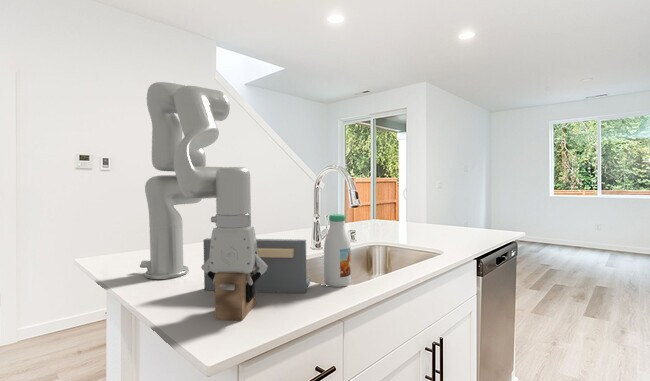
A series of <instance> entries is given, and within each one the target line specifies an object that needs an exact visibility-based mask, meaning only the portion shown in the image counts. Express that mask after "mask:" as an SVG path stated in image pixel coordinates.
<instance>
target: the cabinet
mask: <svg viewBox="0 0 650 381" xmlns="http://www.w3.org/2000/svg"><path fill="white" fill-rule="evenodd" d="M255 269H256V268H254V270H255ZM254 270H253V271H254ZM246 285H247V280H246V274H244V273H216V274H215V291H214V301H215V302H214V304H215V305H214V306H215V308H214V309H215V312H214V313H215V320H216V321H244V319H245V318H246V317H247V316H248V314H249V313H250V312H251V311H252V309H253V308H254V307H255V306H256V304H257V297H255V296H254V298H253V299H252V300H251V301H250V302H249V303H247V302H246Z"/></svg>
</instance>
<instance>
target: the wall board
mask: <svg viewBox="0 0 650 381" xmlns="http://www.w3.org/2000/svg"><path fill="white" fill-rule="evenodd" d="M256 241H257V250H258V256H259V257H260V258H261V259H262V260H263V261H264V262H265V263H266V264H267V265H268V269H267V270H266V271H265V272H264V273H263V274H262V275H261V276H260V277H259V278H258V279H257V280H256V281H255V293H281V294H282V293H283V294H284V293H286V294H289V293H290V294H291V293H292V294H306V293H307V290H308V288H309V286H310V283H311V279H312V278H311V277H307V239H286V238H285V239H284V238H283V239H282V238H277V239H276V238H274V239H273V238H256ZM210 243H211V238H210V237H209V238H208V237H206V238H205V239H203V264H204V263H205V262H206V261H207V260H208V259H209V255H210ZM259 269H260V268H259V266H257V267H256V269H255V270H254V273H255V274H256V273H257V272H258V271H259ZM203 272H204V271H203ZM203 279H204V282H203V283H204V284H203V285H204V291H210V290H211V291H212V292H213V291H214V292H215V284H214V283H213V280H212V279H211V278H210V277H209V276H208V275H207V273H205V272H204V273H203Z"/></svg>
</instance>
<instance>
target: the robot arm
mask: <svg viewBox="0 0 650 381" xmlns="http://www.w3.org/2000/svg"><path fill="white" fill-rule="evenodd" d="M146 106H147V110H148V113H149V116H150V121H151V127H152V128H151V129H152V131H151V164H152V167H153V169H155V170H157V171H160V172H174V173H175V175H174V174H172V175H171V174H168V175H165V174H164V175H155V176H152V177H150V178H149V179H148V180H147V181H146V182H145V185H144V193H145V198H146V202H147V208H148V221H149V253H150V255H149V256H150V259H149V260H141V262H140V265H139V268H141V269H143V268H146V271H145V273H144V275H145V278H147V279H149V280H167V279H173V278H179V277H182V276H184V275H186V274H188V273H189V266H186V265H184V242H183V241H184V240H183V239H184V238H183V234H184V233H183V217H182V216H181V214H180V212H179V211H178V210H177V209H176V208H175V207H174V206H178V205H193V204H198V203H200V202H201V201H202V200H203V199H216V200H215V204H216V207H215V211H216V214H215V215H214V216H211V217H210V222H211V223H215V226H216V227H213V228H212V230H211V231H212V232H211V235H210V236H211V243H210V255H209V259H208V260H207V261H206V262H205V263H204V262H203V264H202V265H201V267H200V268H201V270H202V271H203V272H205V273H207V275H208V276H209V277H210V278H211V279H212V280H213V283H214V284H215V274H216V273H244V274H246V280H247V285H246V302H247V303H249V302H250V301H251V300H252V299H253V298H254V297H255V296H256V292H255V281H256V280H257V279H258V278H259V277H260V276H261V275H262V274H263V273H264V272H265V271H266V270H267V269H268V265H267V264H266V263H265V262H264V261H263V260H262V259H261V258H260V257H259V256H258V250H257V241H256V239H257V237H256V233H255V231H256V230H255V228H254V226H252V211H251V210H252V206H251V205H252V204H251V200H252V199H251V172H250V170H249V169H248V168H246V167H242V166H207V164H206V161H207V158H206V153H205V150H204V148H207V147H210V146H211V145H213V144H214V143H215V142H216V141H217V140H218V138H219V135H220V132H219V128H218V125H217V122H222V121H224V120H226V119H227V118H228V117H229V114H230V112H231V111H230V109H231V108H230V106H231V105H230V101H229V99H228V97H227V95H226V94H225V93H224V92H222V91H221V90H218V89H213V88H207V87H202V86H197V85H184V84H179V83H172V82H167V81H166V82H165V81H158V82H157V81H156V82H154V83H151V84H150V85H149V86H148V89H147V92H146ZM176 114H177V115H176ZM177 116H178V117H177ZM216 121H217V122H216ZM257 266H259V268H260V269H259V271H258V272H257V273H256V274H255V273H254V271H253V270H254V268H256V267H257Z"/></svg>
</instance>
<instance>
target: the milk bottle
mask: <svg viewBox="0 0 650 381" xmlns="http://www.w3.org/2000/svg"><path fill="white" fill-rule="evenodd" d="M328 220H329V221H328V222H329V229H328V231H327V232H326V233H327V234H326V236H325V238H324V245H323V248H324V249H323V282H324V284H325V285H326V286H329V287H333V288H341V287H347V286H349V285H350V284H351V281H352V278H351V276H352V275H351V273H352V271H351V270H352V265H351V263H352V261H351V251H352V250H351V240H350V237H349V235H348V233H347V230H346V226H345V223H346V215H345V214H340V213H338V214H336V213H335V214H333V213H332V214H329V217H328Z"/></svg>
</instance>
